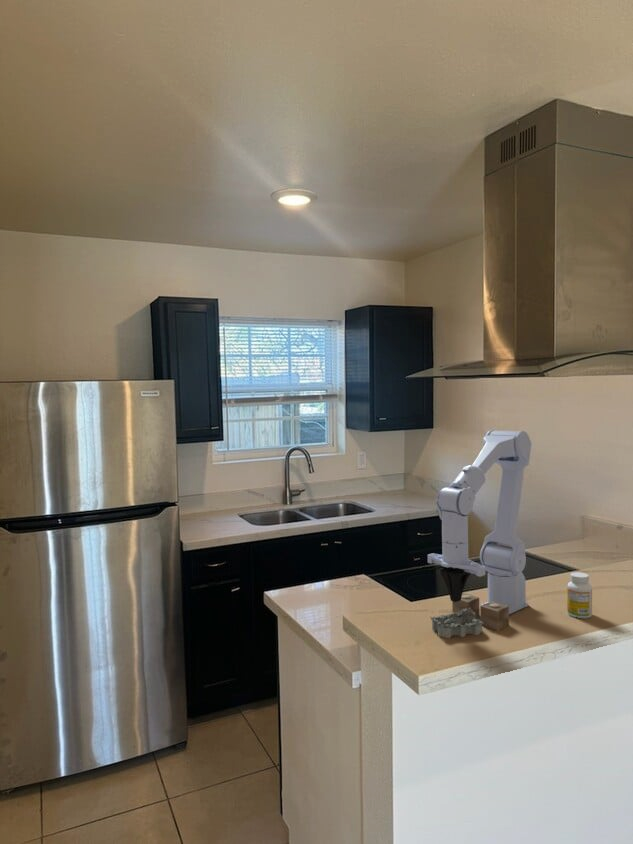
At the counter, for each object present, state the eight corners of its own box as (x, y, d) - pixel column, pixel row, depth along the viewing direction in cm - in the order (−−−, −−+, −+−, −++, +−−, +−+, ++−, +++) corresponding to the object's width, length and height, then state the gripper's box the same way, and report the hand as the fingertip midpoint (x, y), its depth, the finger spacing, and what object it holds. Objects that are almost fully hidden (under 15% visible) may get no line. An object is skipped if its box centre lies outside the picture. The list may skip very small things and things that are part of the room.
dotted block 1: (464, 610, 145) (463, 592, 145) (479, 615, 142) (479, 596, 141) (452, 615, 142) (452, 596, 142) (468, 620, 139) (467, 601, 138)
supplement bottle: (575, 608, 144) (575, 569, 144) (596, 615, 140) (596, 574, 139) (562, 614, 141) (562, 574, 141) (584, 620, 137) (584, 579, 136)
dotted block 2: (492, 620, 139) (491, 600, 139) (508, 625, 135) (508, 605, 135) (480, 625, 136) (480, 605, 136) (497, 630, 133) (497, 610, 132)
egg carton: (472, 624, 137) (472, 606, 137) (486, 637, 130) (486, 618, 130) (428, 626, 136) (428, 609, 136) (439, 640, 129) (439, 621, 128)
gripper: (418, 538, 135) (419, 596, 136) (471, 550, 124) (471, 613, 125) (438, 533, 140) (439, 589, 140) (490, 544, 128) (491, 605, 129)
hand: (455, 600), depth 133 cm, fingers closed
